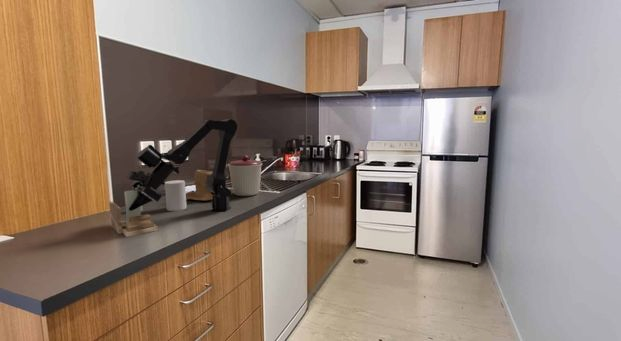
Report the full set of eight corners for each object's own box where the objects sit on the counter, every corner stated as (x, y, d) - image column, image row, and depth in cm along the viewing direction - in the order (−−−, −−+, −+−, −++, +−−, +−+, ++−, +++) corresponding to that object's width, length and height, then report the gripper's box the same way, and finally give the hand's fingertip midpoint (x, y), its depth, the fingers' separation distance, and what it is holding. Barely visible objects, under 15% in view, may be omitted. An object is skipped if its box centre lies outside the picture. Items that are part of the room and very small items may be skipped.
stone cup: (222, 198, 160) (220, 169, 158) (205, 203, 149) (203, 172, 147) (199, 196, 166) (198, 167, 164) (181, 200, 156) (179, 170, 154)
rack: (144, 220, 123) (143, 197, 122) (158, 230, 110) (156, 205, 109) (111, 226, 116) (109, 202, 114) (122, 237, 103) (119, 210, 102)
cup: (189, 206, 144) (188, 180, 143) (180, 210, 136) (179, 183, 135) (172, 206, 145) (171, 180, 144) (163, 210, 137) (160, 183, 135)
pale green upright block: (139, 224, 118) (136, 189, 116) (141, 225, 116) (138, 191, 114) (127, 226, 115) (124, 191, 113) (129, 228, 113) (126, 192, 111)
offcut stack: (150, 224, 113) (150, 213, 113) (154, 226, 110) (153, 215, 110) (125, 229, 108) (124, 217, 108) (128, 232, 105) (127, 220, 105)
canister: (237, 190, 180) (236, 153, 177) (268, 191, 176) (267, 153, 173) (222, 197, 162) (220, 156, 159) (256, 198, 159) (254, 156, 156)
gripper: (134, 160, 122) (103, 192, 116) (148, 163, 108) (114, 200, 102) (157, 177, 128) (129, 209, 122) (173, 183, 114) (143, 219, 108)
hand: (128, 209), depth 114 cm, fingers closed on pale green upright block, 3 cm apart
